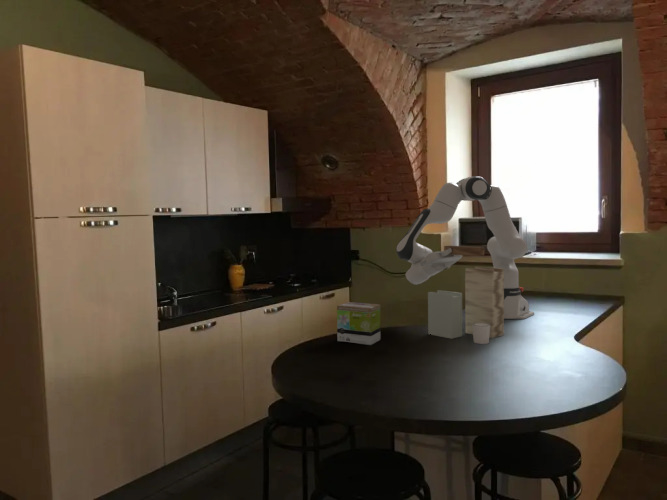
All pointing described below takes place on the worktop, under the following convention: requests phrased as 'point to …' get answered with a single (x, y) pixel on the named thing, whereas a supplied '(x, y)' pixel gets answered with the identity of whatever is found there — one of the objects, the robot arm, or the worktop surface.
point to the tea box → (358, 323)
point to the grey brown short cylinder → (481, 333)
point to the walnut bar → (466, 250)
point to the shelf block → (485, 299)
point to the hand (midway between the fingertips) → (455, 249)
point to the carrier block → (445, 314)
